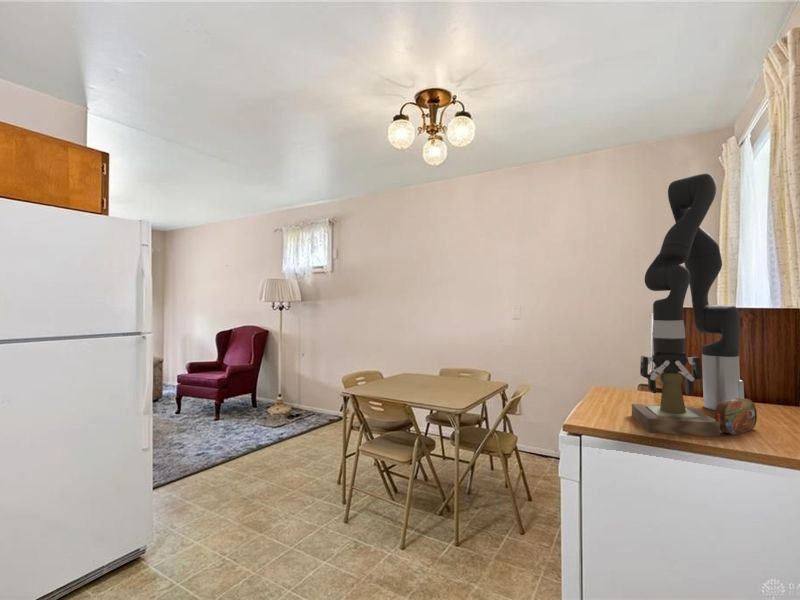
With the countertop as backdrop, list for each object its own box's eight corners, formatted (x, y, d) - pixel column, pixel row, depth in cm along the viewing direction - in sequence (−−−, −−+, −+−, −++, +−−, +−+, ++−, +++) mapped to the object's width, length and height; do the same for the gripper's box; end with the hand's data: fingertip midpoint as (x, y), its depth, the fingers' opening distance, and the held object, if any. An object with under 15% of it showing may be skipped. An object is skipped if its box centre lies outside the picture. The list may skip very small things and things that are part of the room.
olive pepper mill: (673, 407, 111) (672, 369, 111) (691, 413, 105) (690, 373, 105) (654, 408, 110) (653, 370, 111) (671, 414, 104) (670, 374, 105)
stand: (693, 418, 113) (692, 405, 113) (720, 436, 98) (719, 421, 98) (631, 415, 118) (631, 402, 118) (648, 432, 102) (648, 417, 103)
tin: (727, 437, 97) (726, 404, 98) (713, 433, 100) (711, 401, 100) (759, 428, 103) (757, 397, 104) (744, 425, 106) (743, 395, 106)
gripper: (644, 337, 107) (646, 395, 106) (704, 337, 102) (707, 397, 102) (636, 335, 114) (638, 389, 114) (692, 335, 110) (694, 391, 109)
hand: (670, 393), depth 108 cm, fingers open, 8 cm apart
